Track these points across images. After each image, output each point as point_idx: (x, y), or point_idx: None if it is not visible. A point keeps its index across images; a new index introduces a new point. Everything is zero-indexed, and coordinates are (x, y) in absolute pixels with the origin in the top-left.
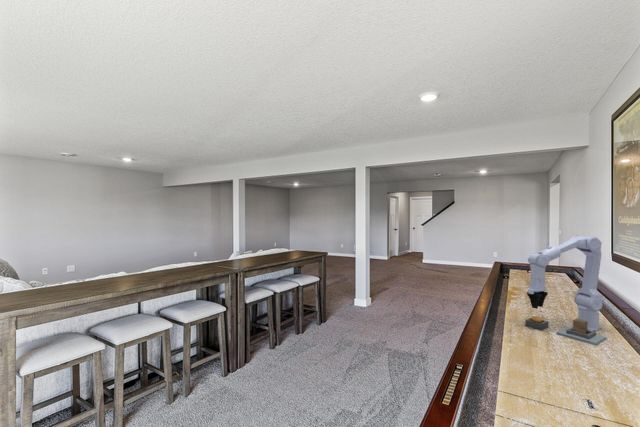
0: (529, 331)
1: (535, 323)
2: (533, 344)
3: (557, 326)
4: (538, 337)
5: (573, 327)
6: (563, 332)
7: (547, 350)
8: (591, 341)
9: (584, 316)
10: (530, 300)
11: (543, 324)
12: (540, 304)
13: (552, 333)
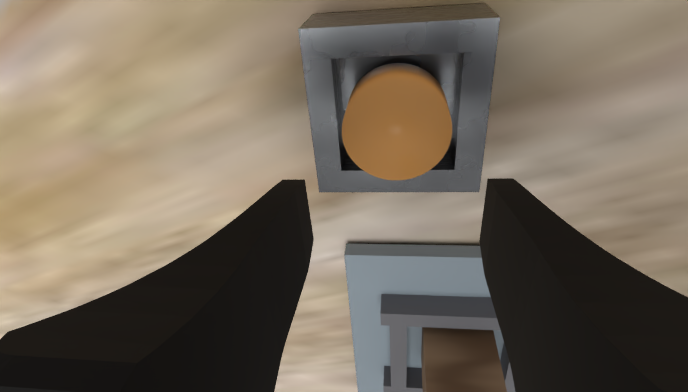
0: (213, 109)
1: (314, 132)
2: (24, 229)
3: (615, 176)
4: (162, 200)
5: (424, 355)
6: (384, 281)
7: (41, 290)
8: (360, 384)
9: None
10: (200, 250)
11: (353, 187)
12: (488, 254)
13: (352, 218)
